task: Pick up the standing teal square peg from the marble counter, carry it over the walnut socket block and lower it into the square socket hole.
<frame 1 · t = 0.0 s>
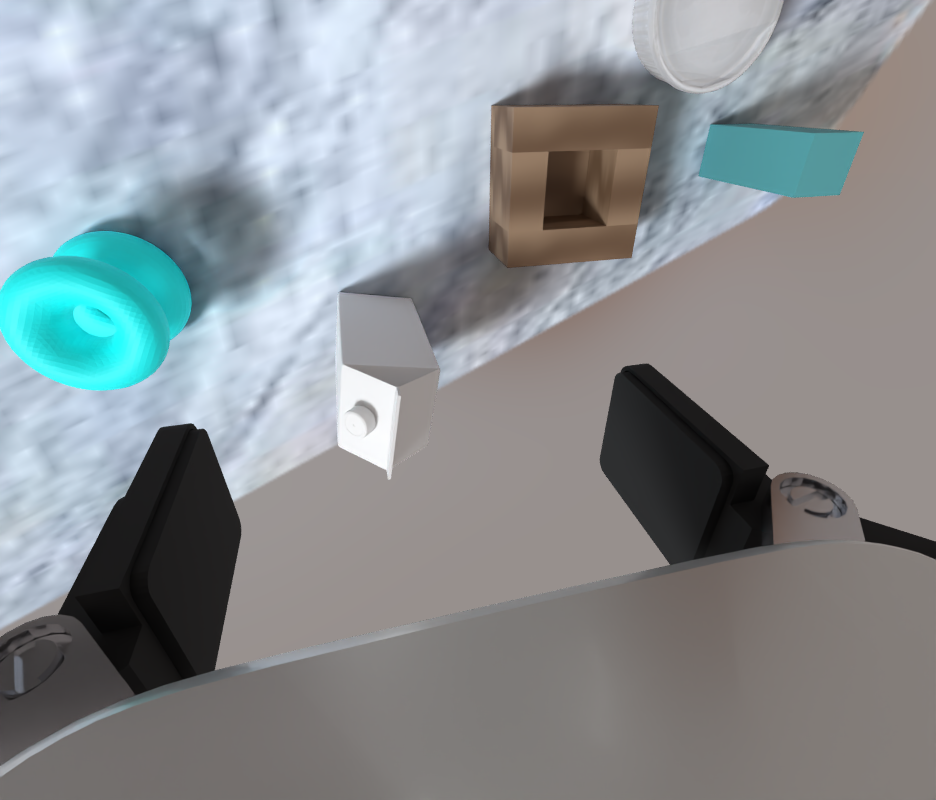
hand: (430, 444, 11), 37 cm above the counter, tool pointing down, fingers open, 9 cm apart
milk carton: (372, 327, 48), on the counter
teal stacked rings: (130, 286, 41), on the counter
socket block: (551, 180, 45), on the counter
ramekin: (678, 14, 40), on the counter
peg: (724, 150, 47), on the counter
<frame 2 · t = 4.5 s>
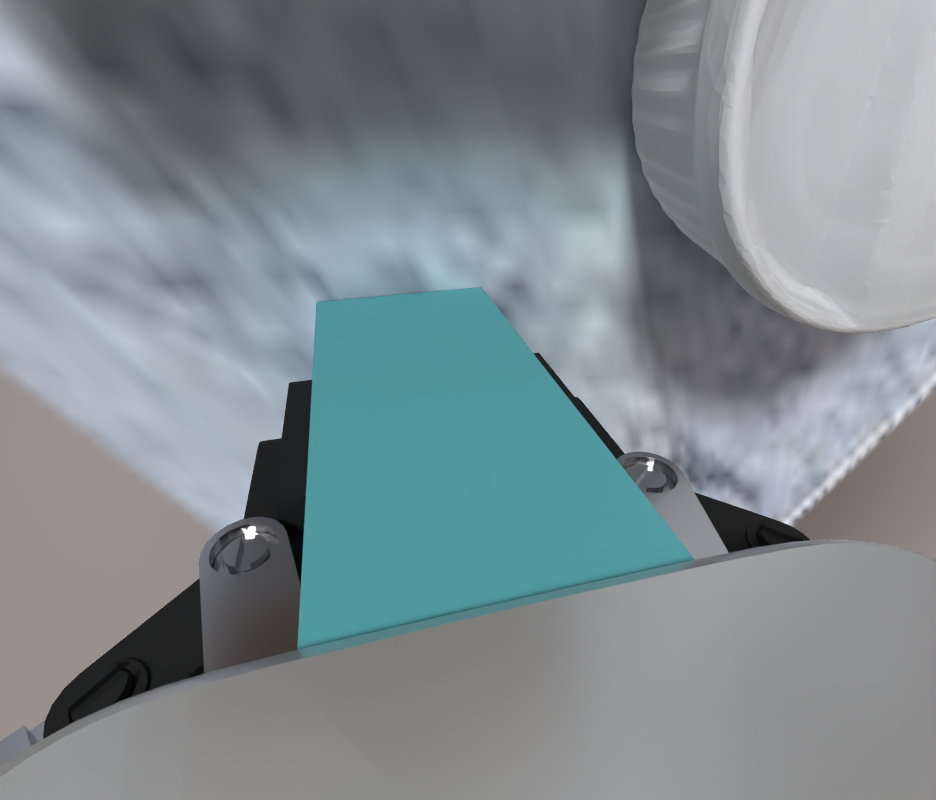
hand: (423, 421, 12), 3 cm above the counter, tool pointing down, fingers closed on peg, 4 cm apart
ramekin: (783, 54, 12), on the counter
peg: (407, 366, 14), on the counter, touching gripper
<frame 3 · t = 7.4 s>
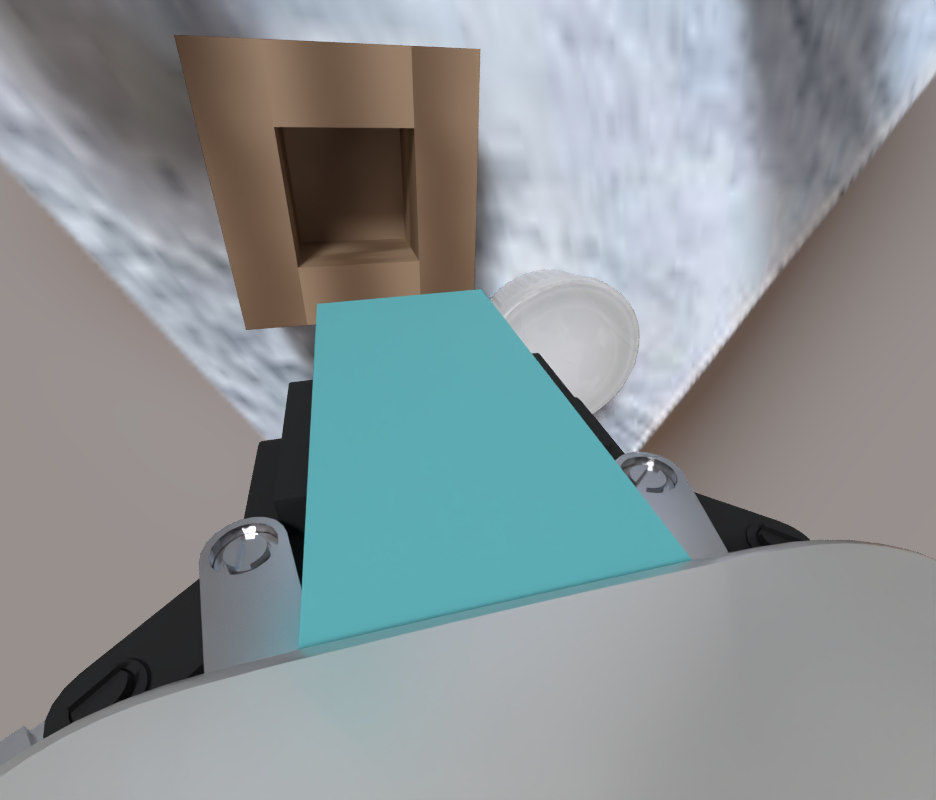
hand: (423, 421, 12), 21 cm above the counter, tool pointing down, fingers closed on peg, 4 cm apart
socket block: (347, 182, 27), on the counter
ramekin: (532, 329, 36), on the counter
peg: (408, 368, 14), point 18 cm above the counter, touching gripper
when the fingers open (7 cm above the counter, at t = 10.1 s): peg drops 3 cm, resting on socket block.
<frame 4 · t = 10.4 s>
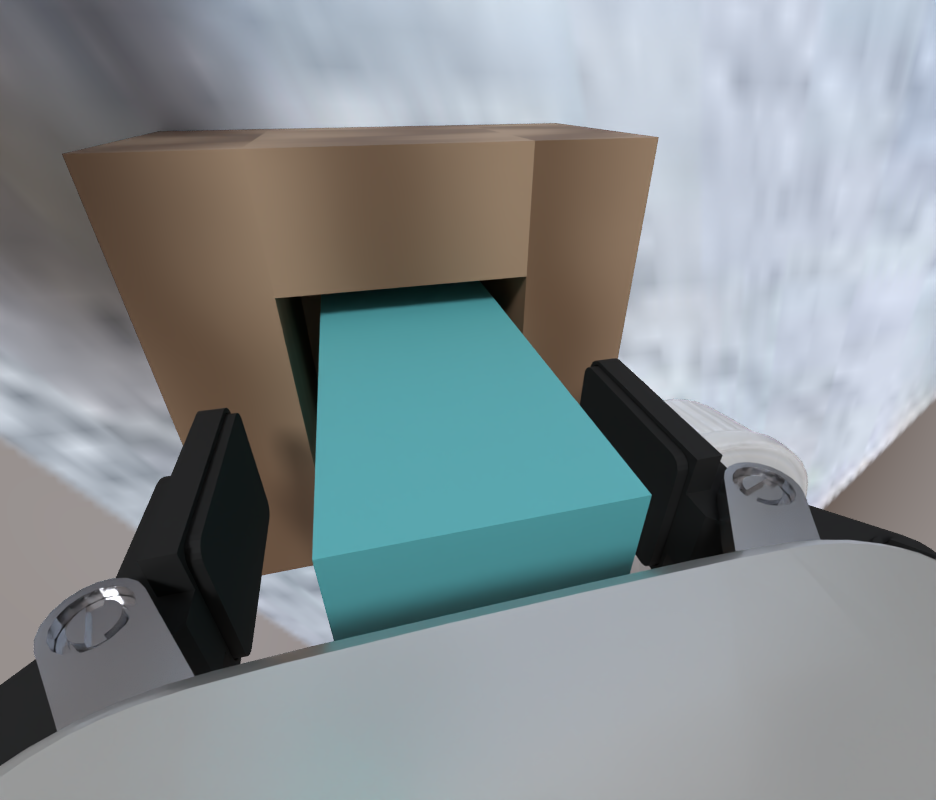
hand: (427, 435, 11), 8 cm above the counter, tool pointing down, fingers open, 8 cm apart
socket block: (391, 311, 18), on the counter
ramekin: (634, 464, 26), on the counter
peg: (397, 321, 17), point 1 cm above the counter, touching socket block
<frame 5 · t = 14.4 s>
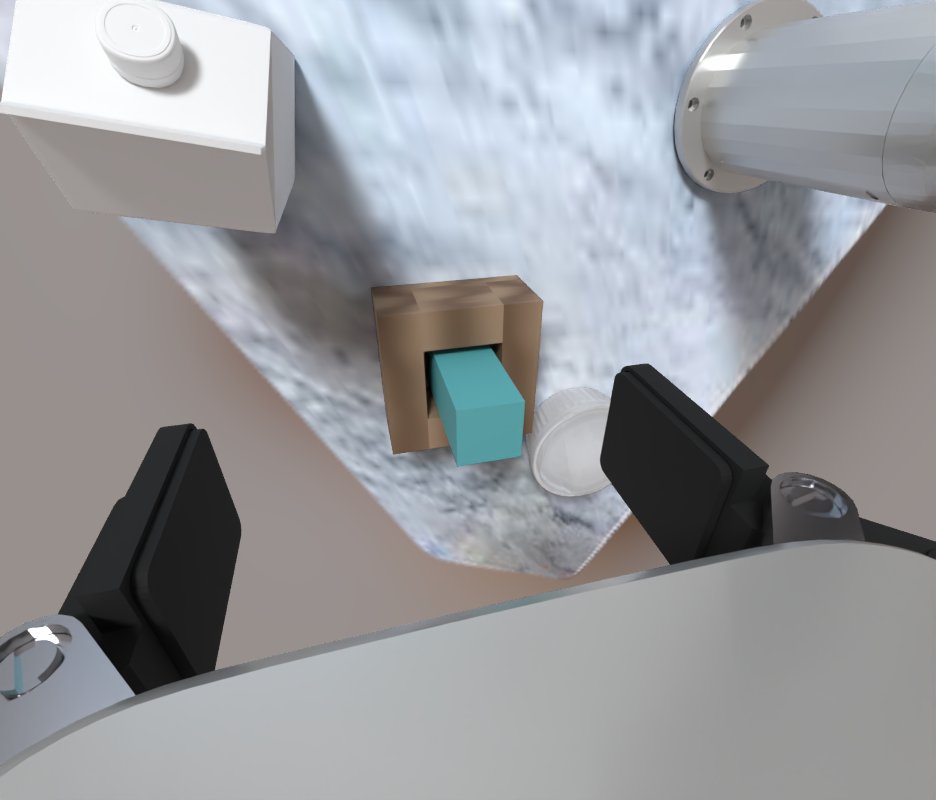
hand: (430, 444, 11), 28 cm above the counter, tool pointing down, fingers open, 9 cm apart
milk carton: (234, 109, 30), on the counter
socket block: (448, 348, 42), on the counter
ramekin: (565, 422, 50), on the counter
peg: (451, 353, 41), point 1 cm above the counter, touching socket block
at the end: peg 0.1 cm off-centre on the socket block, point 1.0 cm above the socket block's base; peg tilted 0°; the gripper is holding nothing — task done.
